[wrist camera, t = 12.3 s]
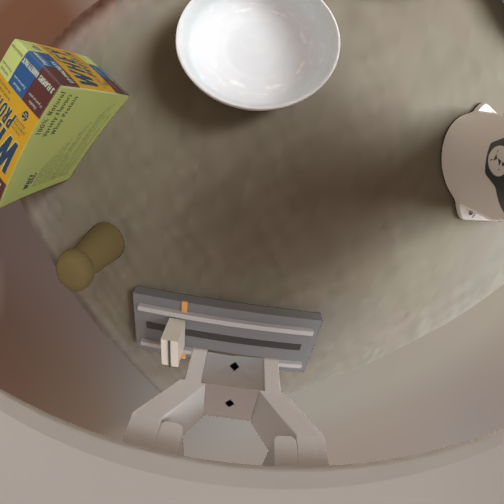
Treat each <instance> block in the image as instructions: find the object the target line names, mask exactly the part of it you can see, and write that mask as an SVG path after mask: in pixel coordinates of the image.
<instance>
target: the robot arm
mask: <svg viewBox="0 0 504 504" xmlns="http://www.w3.org/2000/svg"><path fill="white" fill-rule="evenodd" d="M442 170H443V175H444V179H445V182H446V185H447V187H448V189H449V191H450V192H451V194H452V196H453V197H454V200H455V203H456V210H457V214H458V216H459V218H461V219H464V220H484V221H493V222H497V221H504V115H503V114H497V113H496V112H495V111H494V110H493V109H492V108H491V107H490V106H489V105H488V104H485V103H480V104H479V105H478V106H477V107H476V108H475V109H474V111H473V112H471V113H468V114H465V115H462V116H460V117H459V118H457V119H456V120H455V121H454V122H453V123H452V125H451V126H450V128H449V129H448V131H447V134H446V136H445V139H444V143H443V148H442ZM469 211H470V213H469ZM203 415H208V416H216V417H225V418H232V419H240V420H247V421H251V423H252V425H253V427H254V428H255V430H256V431H257V433H258V435H259V436H260V438H261V439H262V441H263V442H264V444H265V446H266V447H267V449H268V450H269V451H268V453H267V456H266V458H265V460H264V462H263V464H262V465H247V464H237V463H227V462H219V461H210V460H204V459H198V458H192V457H186V456H184V447H183V445H184V444H183V435H185V434H186V433H187V432H188V430H190V429H191V428H192V427H193V426H194V425H195V424H196V423H197V422H198V421H199V420H200V419H201V418H202V417H203ZM0 504H504V428H503V429H500V430H497V431H495V432H492V433H489V434H487V435H484V436H481V437H478V438H475V439H472V440H469V441H466V442H462V443H459V444H456V445H452V446H449V447H445V448H441V449H437V450H434V451H429V452H425V453H420V454H415V455H410V456H406V457H400V458H394V459H388V460H381V461H374V462H366V463H356V464H345V465H331V466H329V464H328V457H327V451H326V445H325V438H324V435H323V434H322V433H321V432H320V431H319V430H318V429H317V428H316V427H315V426H314V424H313V423H312V422H311V421H310V420H309V419H308V418H307V417H306V416H305V415H304V414H303V413H302V412H301V411H300V409H299V408H298V407H297V406H296V405H295V404H294V403H293V402H292V401H291V399H290V398H289V397H288V396H287V395H286V394H285V393H283V392H281V391H280V377H279V363H278V359H277V358H267V357H256V356H247V355H239V354H232V353H225V352H220V351H214V350H207V349H201V348H196V347H194V348H193V349H192V353H191V356H190V360H189V364H188V368H187V372H186V375H185V379H184V380H183V379H180V380H178V381H177V382H175V383H174V384H173V385H171V386H170V387H168V388H167V389H165V390H164V391H163V392H161V393H160V394H158V395H157V396H156V397H154V398H153V399H151V400H150V401H148V402H147V403H145V404H144V405H142V406H141V407H139V408H138V409H136V410H135V411H133V413H132V416H131V419H130V422H129V424H128V427H127V430H126V433H125V435H124V439H123V441H120V440H116V439H113V438H110V437H107V436H104V435H101V434H98V433H95V432H93V431H90V430H87V429H84V428H82V427H79V426H77V425H74V424H71V423H69V422H66V421H64V420H61V419H59V418H57V417H55V416H53V415H50V414H48V413H46V412H44V411H42V410H40V409H37V408H35V407H33V406H31V405H29V404H27V403H25V402H24V401H22V400H20V399H18V398H16V397H14V396H12V395H10V394H9V393H7V392H5V391H3V390H2V389H0Z"/></svg>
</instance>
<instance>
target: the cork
mask: <svg viewBox="0 0 504 504" xmlns="http://www.w3.org/2000/svg"><path fill="white" fill-rule="evenodd" d="M123 249H124V240H123V237H122V234H121V233H120V231H119V230H118V229H117V228H116V227H115V226H114V225H112V224H110V223H106V222H101V223H98V224H96V225H95V226H94V227H93V228H92V229H91V230H90V231H89V232H88V233H87V234H86V236H85V237H84V238H83V239H82V240H81V241H80V242H79V244H78V245H77V246H76V247H75V248H74V249H70V250H66V251H65V252H64V253H63V254H61V255H60V257H59V259H58V261H57V265H56V271H57V276H58V278H59V280H60V282H61V283H62V284H63V285H64V286H65V287H66V288H68V289H70V290H73V291H80V290H83V289H85V288H86V287H88V286H89V285H90V283H91V282H92V280H93V278H94V274H95V273H97V272H98V271H100V270H101V269H102V268H104V267H105V266H107V265H108V264H110V263H111V262H113V261H114V260H116V259H117V258H119V257H120V256H121V254H122V253H123Z"/></svg>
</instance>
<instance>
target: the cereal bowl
mask: <svg viewBox="0 0 504 504" xmlns="http://www.w3.org/2000/svg"><path fill="white" fill-rule="evenodd" d="M175 43H176V51H177V55H178V59H179V61H180V64H181V66H182V68H183V69H184V71H185V73H186V74H187V76H188V77H189V78H190V79H191V81H192V82H193V83H194V84H195V85H196V86H197V87H198V88H199V89H200V90H201V91H203V92H204V93H205V94H207V95H208V96H210V97H211V98H213V99H215V100H217V101H218V102H221V103H223V104H225V105H229V106H231V107H234V108H239V109H244V110H250V111H268V110H277V109H282V108H286V107H288V106H292V105H294V104H297V103H299V102H301V101H303V100H305V99H306V98H308V97H310V96H311V95H312V94H314V93H315V92H317V91H318V90H319V89H320V88H321V87H322V86H323V85H324V84H325V82H326V81H327V80H328V79H329V78H330V76H331V74H332V73H333V71H334V69H335V67H336V64H337V62H338V57H339V52H340V34H339V29H338V26H337V23H336V20H335V18H334V16H333V14H332V12H331V11H330V9H329V8H328V7H327V5H326V4H325V3H324V2H323V1H322V0H191V1H190V2H189V3H188V5H187V6H186V7H185V9H184V11H183V12H182V14H181V17H180V19H179V22H178V25H177V29H176V37H175Z"/></svg>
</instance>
